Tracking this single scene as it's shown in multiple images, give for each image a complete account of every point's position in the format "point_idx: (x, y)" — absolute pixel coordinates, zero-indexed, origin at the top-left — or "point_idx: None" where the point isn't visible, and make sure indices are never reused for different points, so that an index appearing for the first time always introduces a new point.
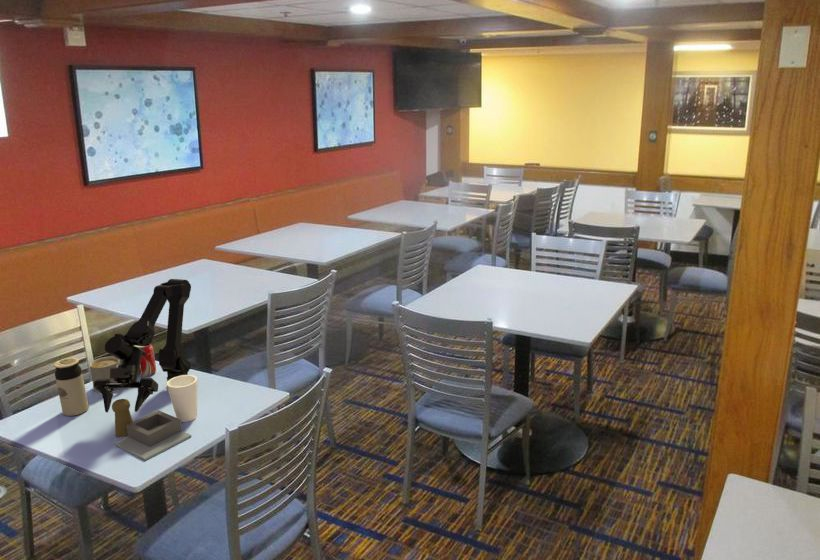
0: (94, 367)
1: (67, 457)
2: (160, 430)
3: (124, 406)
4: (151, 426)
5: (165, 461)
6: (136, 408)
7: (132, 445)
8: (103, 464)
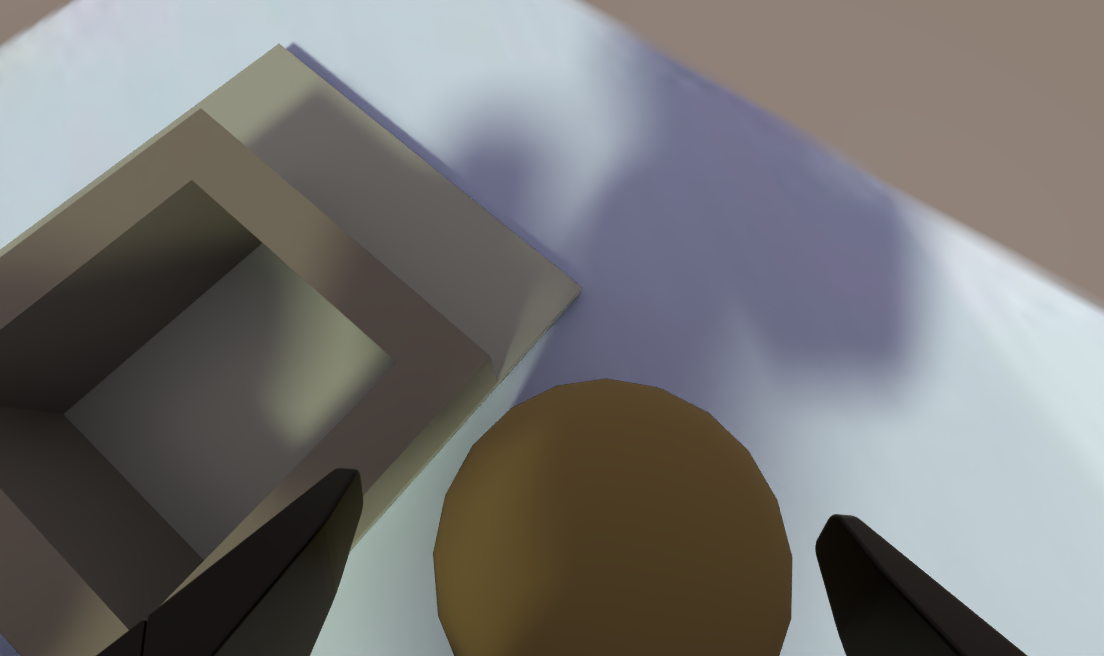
0: None
1: (857, 179)
2: (84, 208)
3: (495, 428)
4: None
5: (142, 27)
6: (310, 491)
7: (418, 232)
8: (565, 62)
